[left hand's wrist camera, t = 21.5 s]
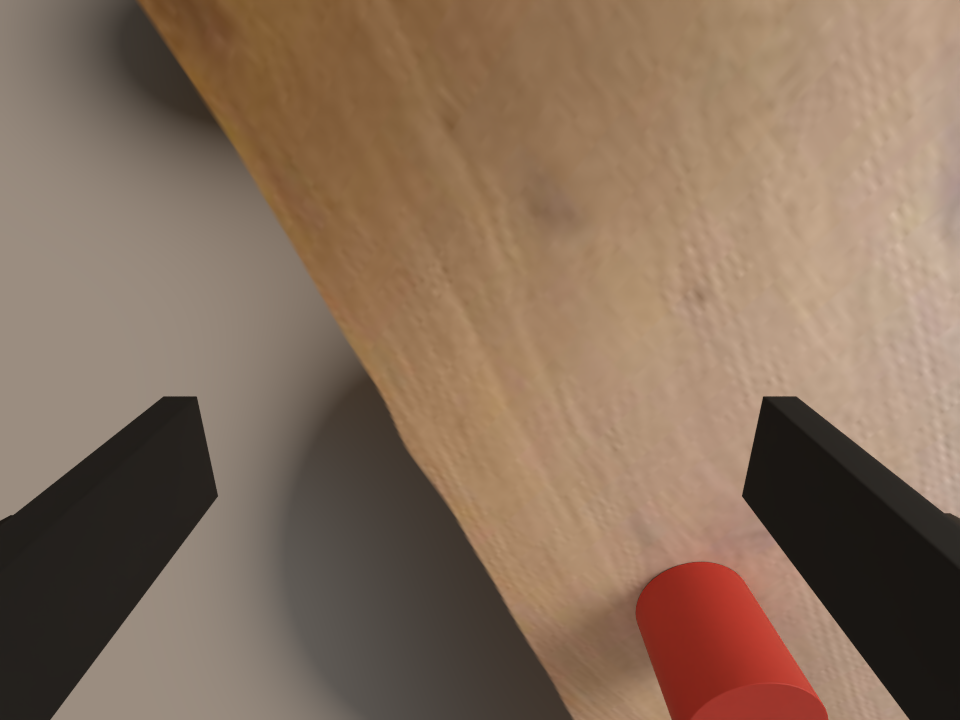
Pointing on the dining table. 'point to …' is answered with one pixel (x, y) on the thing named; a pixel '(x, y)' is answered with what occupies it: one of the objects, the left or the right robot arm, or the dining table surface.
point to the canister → (719, 650)
